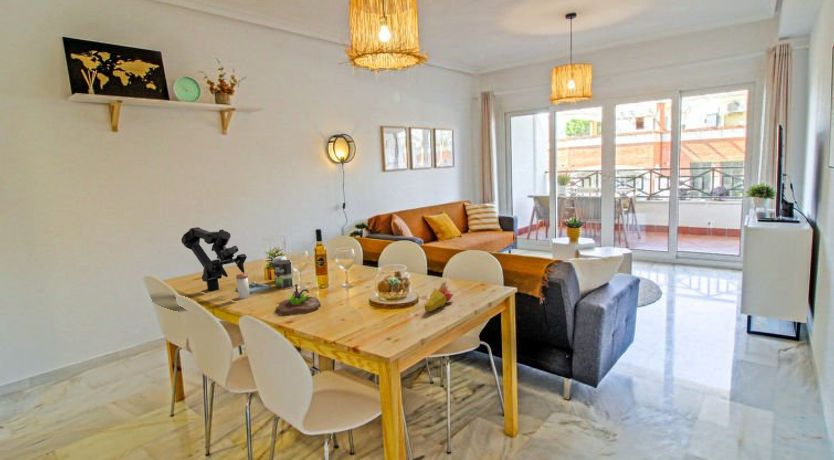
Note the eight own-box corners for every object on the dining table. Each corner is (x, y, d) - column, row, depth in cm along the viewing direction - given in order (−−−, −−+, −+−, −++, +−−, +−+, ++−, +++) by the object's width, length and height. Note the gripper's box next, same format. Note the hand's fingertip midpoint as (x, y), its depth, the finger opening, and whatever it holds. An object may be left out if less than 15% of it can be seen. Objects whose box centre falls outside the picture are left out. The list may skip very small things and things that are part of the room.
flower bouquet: (426, 322, 197) (445, 298, 219) (440, 316, 194) (458, 292, 216) (415, 306, 197) (435, 283, 219) (430, 299, 193) (449, 277, 215)
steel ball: (250, 286, 253) (249, 281, 253) (255, 285, 255) (254, 280, 255) (253, 287, 251) (252, 282, 251) (258, 286, 254) (257, 280, 253)
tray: (236, 291, 248) (235, 287, 247) (255, 286, 257) (255, 282, 257) (251, 295, 239) (250, 291, 239) (271, 289, 248) (270, 285, 248)
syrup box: (284, 283, 260) (282, 258, 258) (274, 283, 261) (272, 258, 259) (289, 280, 265) (286, 255, 263) (279, 280, 267) (277, 256, 264)
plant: (320, 299, 227) (318, 277, 225) (320, 312, 208) (318, 288, 206) (278, 304, 223) (276, 281, 221) (274, 317, 204) (272, 293, 202)
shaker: (236, 299, 233) (233, 275, 232) (246, 296, 238) (243, 272, 236) (242, 301, 230) (240, 276, 228) (252, 298, 234) (249, 274, 232)
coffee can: (287, 290, 245) (284, 264, 243) (271, 289, 249) (268, 263, 247) (298, 285, 255) (296, 260, 253) (283, 284, 259) (281, 259, 256)
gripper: (208, 244, 229) (223, 268, 224) (242, 238, 243) (257, 260, 238) (202, 259, 235) (216, 282, 230) (236, 252, 249) (250, 274, 244)
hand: (235, 274), depth 235 cm, fingers open, 9 cm apart
